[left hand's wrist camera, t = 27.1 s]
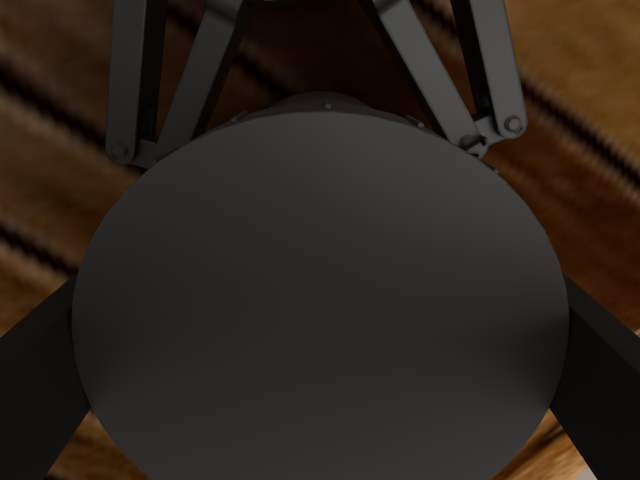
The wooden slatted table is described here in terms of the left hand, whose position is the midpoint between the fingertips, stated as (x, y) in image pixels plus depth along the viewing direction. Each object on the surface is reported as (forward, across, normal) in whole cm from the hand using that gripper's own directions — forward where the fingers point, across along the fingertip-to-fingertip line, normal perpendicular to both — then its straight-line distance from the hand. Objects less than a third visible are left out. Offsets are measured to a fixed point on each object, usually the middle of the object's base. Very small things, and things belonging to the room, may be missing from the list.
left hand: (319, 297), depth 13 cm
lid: (-3, 0, 0) cm, 3 cm away
